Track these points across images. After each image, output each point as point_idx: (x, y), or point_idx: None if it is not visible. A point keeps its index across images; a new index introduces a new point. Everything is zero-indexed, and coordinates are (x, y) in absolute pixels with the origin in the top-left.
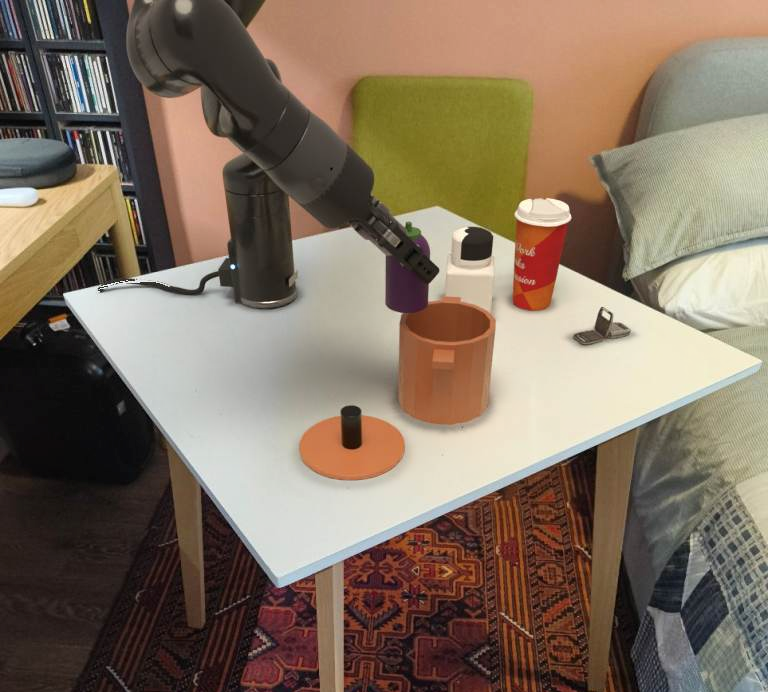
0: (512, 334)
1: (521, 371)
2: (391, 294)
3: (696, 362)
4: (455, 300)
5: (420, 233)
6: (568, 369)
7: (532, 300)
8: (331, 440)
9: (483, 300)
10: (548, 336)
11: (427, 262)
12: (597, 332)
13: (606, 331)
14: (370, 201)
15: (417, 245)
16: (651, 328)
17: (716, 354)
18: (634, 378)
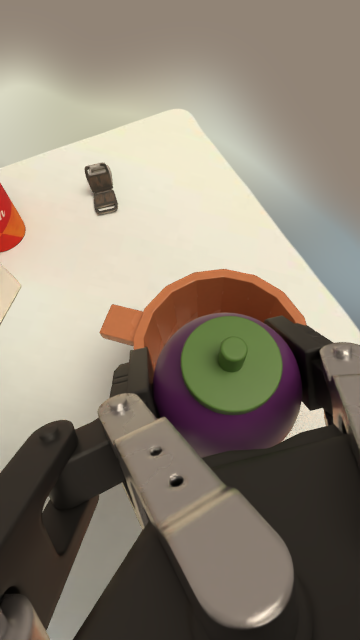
0: (69, 270)
1: (156, 281)
2: None
3: (173, 139)
4: (122, 314)
5: (250, 321)
6: (163, 236)
7: (16, 229)
8: None
9: (4, 280)
10: (87, 236)
11: (326, 339)
12: (100, 192)
13: (110, 182)
14: (297, 600)
15: (349, 350)
16: (102, 151)
17: (163, 123)
18: (192, 188)
